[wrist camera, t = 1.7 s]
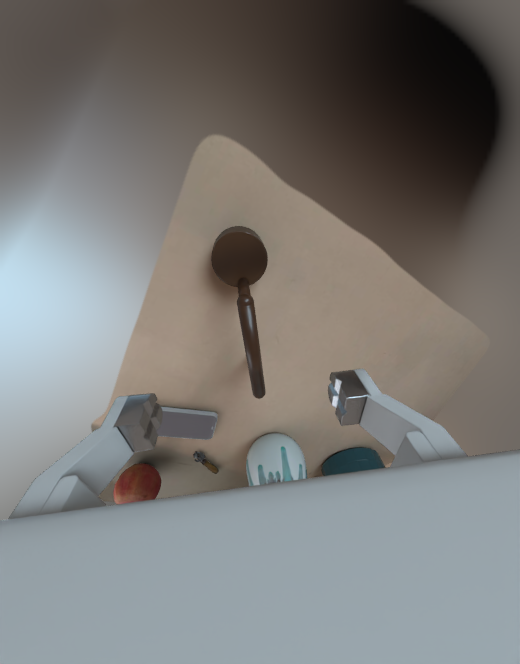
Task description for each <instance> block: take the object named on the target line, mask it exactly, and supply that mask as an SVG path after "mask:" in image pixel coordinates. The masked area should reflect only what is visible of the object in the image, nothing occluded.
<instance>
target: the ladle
mask: <svg viewBox="0 0 520 664" xmlns="http://www.w3.org/2000/svg"><path fill="white" fill-rule="evenodd" d="M267 261H268V260H267V252H266V249H265V247H264V245H263V243H262V241H261V239H260V237H259V236H258V235H257V234H256V233H255V232H254V231H252V230H251V229H249V228H246V227H242V226H235V227H231V228H228V229H226V230H224V231H223V232H222V233H221V234H220V235H219V236H218V238H217V239H216V241H215V244H214V248H213V251H212V265H213V269H214V271H215V273H216V274H217V276H218V277H219V278H220V279H221V280H222V281H223V282H225V283H227V284H229V285H231V286H235V287H238V293H239V297H238V299H237V306H238V312H239V317H240V323H241V329H242V335H243V340H244V346H245V352H246V357H247V363H248V369H249V375H250V380H251V386H252V392H253V395H254V397H256V398H262V397H264V395H265V384H264V377H263V369H262V361H261V354H260V346H259V338H258V331H257V323H256V315H255V307H254V300H253V298H252V297H251V295H250V288H249V285H251V284H254V283H255V282H257V281H258V280H259V279H260V278H261V277H262V275H263V274H264V272H265V270H266V267H267Z"/></svg>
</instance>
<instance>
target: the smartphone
mask: <svg viewBox="0 0 520 664" xmlns="http://www.w3.org/2000/svg"><path fill="white" fill-rule="evenodd" d="M161 408H162V412H163V418H162V423H161V426H160V427H159V428H158V429H157V430H156V432H157V434H158V436H164V437H177V438H190V439H204V440H208V439H211V438H212V437H213V433H214V430H215V426H216V422H217V414H216V413H215V412H208V411H199V410H189V409H179V408H169V407H161Z"/></svg>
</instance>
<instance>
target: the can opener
mask: <svg viewBox="0 0 520 664" xmlns="http://www.w3.org/2000/svg"><path fill="white" fill-rule="evenodd" d="M195 452H196V451H195ZM197 453H198V454H199V455H200V456H199V455H198V454H197ZM193 456H194V458H198V460H196V459H195V461H196V462H199V461H201V463H202V464H203V465H205V466H206V467H207V468H208V469H209V470H210V471H212V472H213V473H215V474H217V473H218V469H217V468H216V467H215V466H214V465H212V464H211V463H209V462H208V461H207V460H206V459H204V458H205V455H204V454H203V453H201V452H196V453H194V454H193Z"/></svg>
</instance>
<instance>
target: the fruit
mask: <svg viewBox="0 0 520 664" xmlns="http://www.w3.org/2000/svg"><path fill="white" fill-rule="evenodd" d="M160 487H161V478H160V475H159V473H158V471H157V470H156V469H155V468H154V467H153V466H151V465H148V464H146V463H144V464H135V465H133V466H131V467H130V468H128V469H126V470H125V471H124V472H123V473H122V474H121V476H120V477H119V479H118V481H117V482H116V484H115V487H114V500H115V502H116V504H124V503H131V502H139V501H146V500H153V499H155V498H156V496H157V495H158V492H159V490H160Z"/></svg>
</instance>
